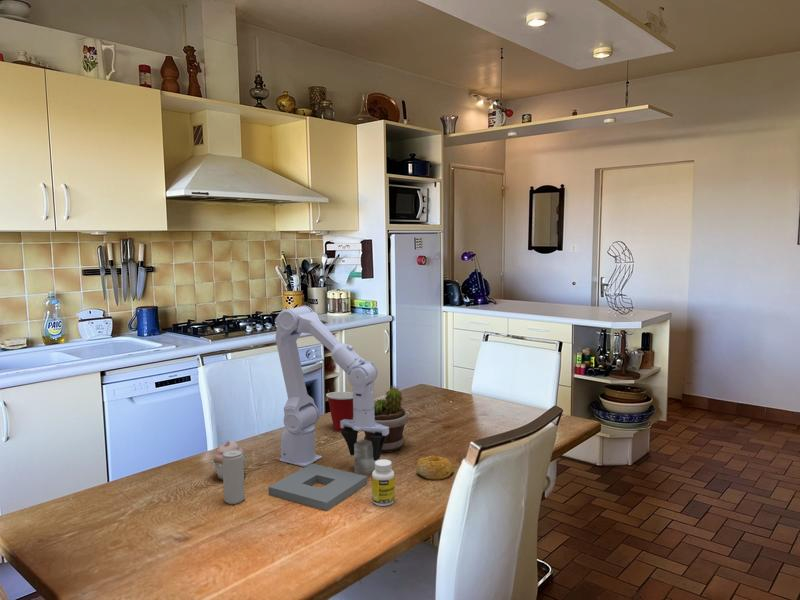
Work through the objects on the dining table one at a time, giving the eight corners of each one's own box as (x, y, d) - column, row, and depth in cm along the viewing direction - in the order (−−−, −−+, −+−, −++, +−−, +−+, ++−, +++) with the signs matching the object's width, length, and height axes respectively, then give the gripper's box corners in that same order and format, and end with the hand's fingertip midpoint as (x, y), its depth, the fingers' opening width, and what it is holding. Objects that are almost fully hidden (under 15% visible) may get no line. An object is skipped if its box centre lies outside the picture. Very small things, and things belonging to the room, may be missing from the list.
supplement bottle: (378, 508, 134) (377, 468, 133) (368, 499, 139) (367, 460, 138) (398, 503, 136) (398, 464, 135) (388, 494, 141) (388, 456, 140)
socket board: (268, 494, 142) (268, 486, 142) (312, 470, 157) (312, 463, 156) (326, 511, 133) (326, 502, 133) (367, 483, 148) (367, 476, 147)
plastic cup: (365, 426, 193) (365, 392, 191) (346, 436, 184) (345, 399, 182) (340, 421, 199) (339, 387, 197) (320, 430, 189) (319, 395, 188)
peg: (354, 472, 155) (354, 443, 154) (362, 467, 158) (362, 439, 158) (367, 475, 153) (366, 446, 152) (375, 470, 156) (374, 441, 156)
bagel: (462, 471, 155) (461, 454, 154) (436, 485, 147) (436, 467, 146) (433, 462, 162) (433, 446, 161) (407, 475, 154) (407, 458, 153)
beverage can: (239, 505, 136) (237, 457, 135) (220, 504, 137) (218, 455, 136) (248, 497, 141) (246, 449, 140) (230, 495, 142) (228, 448, 141)
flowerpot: (351, 452, 169) (349, 386, 167) (372, 436, 183) (371, 375, 181) (396, 459, 164) (395, 391, 162) (415, 441, 178) (414, 378, 176)
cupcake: (205, 476, 153) (203, 440, 152) (236, 466, 160) (235, 431, 159) (223, 486, 147) (222, 449, 146) (255, 475, 154) (253, 439, 153)
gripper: (333, 408, 154) (334, 456, 155) (378, 415, 147) (379, 466, 148) (348, 401, 160) (349, 448, 162) (392, 408, 153) (393, 457, 154)
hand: (364, 456), depth 155 cm, fingers open, 7 cm apart
